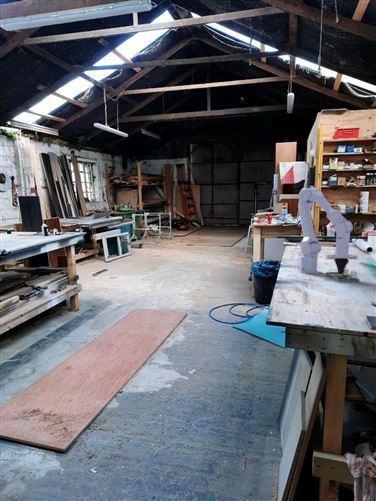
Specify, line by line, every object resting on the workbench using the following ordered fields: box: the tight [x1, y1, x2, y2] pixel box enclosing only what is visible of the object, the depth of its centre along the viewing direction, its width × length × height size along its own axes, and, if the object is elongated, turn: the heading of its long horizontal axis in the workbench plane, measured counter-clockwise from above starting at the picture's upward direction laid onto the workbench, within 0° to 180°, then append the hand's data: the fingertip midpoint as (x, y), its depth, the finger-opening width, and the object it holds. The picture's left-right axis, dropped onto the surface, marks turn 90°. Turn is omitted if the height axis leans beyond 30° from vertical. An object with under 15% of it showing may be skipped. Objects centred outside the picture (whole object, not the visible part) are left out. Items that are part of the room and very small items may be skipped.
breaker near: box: [350, 270, 358, 278], centre depth 152 cm, size 2×2×3 cm
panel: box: [325, 271, 360, 283], centre depth 158 cm, size 10×14×1 cm
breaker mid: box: [343, 267, 349, 275], centre depth 157 cm, size 2×2×3 cm
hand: (340, 273), depth 158 cm, fingers closed
